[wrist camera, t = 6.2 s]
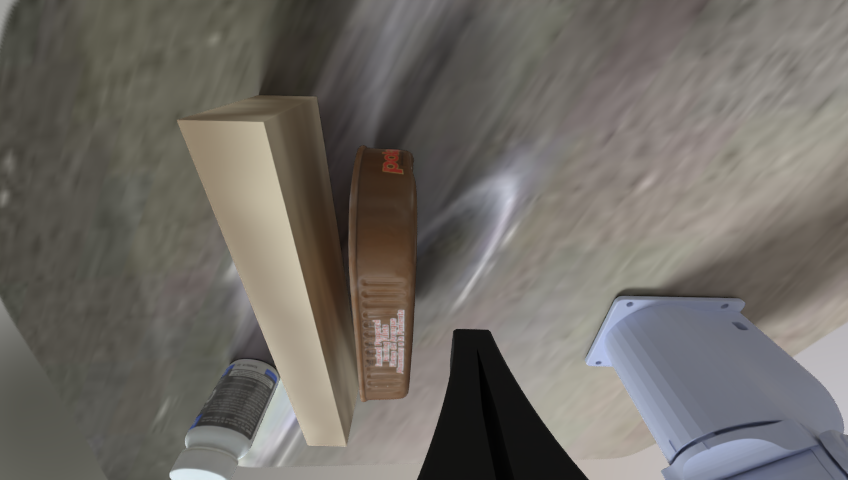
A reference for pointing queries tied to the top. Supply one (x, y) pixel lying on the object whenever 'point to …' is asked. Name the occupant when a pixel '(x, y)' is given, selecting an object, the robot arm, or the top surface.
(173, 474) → the pill bottle
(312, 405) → the board
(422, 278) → the top surface
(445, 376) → the top surface
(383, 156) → the tin
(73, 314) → the top surface
